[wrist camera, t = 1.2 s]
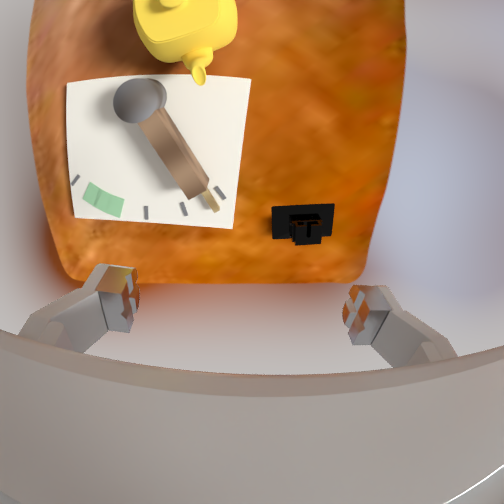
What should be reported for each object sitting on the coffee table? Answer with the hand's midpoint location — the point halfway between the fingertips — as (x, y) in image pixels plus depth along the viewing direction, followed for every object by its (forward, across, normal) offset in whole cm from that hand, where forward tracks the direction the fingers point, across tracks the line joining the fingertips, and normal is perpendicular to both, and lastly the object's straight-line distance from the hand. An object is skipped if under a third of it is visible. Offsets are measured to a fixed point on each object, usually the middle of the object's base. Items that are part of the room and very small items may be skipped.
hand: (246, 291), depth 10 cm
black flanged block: (+30, -10, +10) cm, 33 cm away
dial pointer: (+26, +8, 0) cm, 27 cm away
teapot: (+28, +8, -16) cm, 33 cm away
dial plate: (+28, +12, +1) cm, 31 cm away
